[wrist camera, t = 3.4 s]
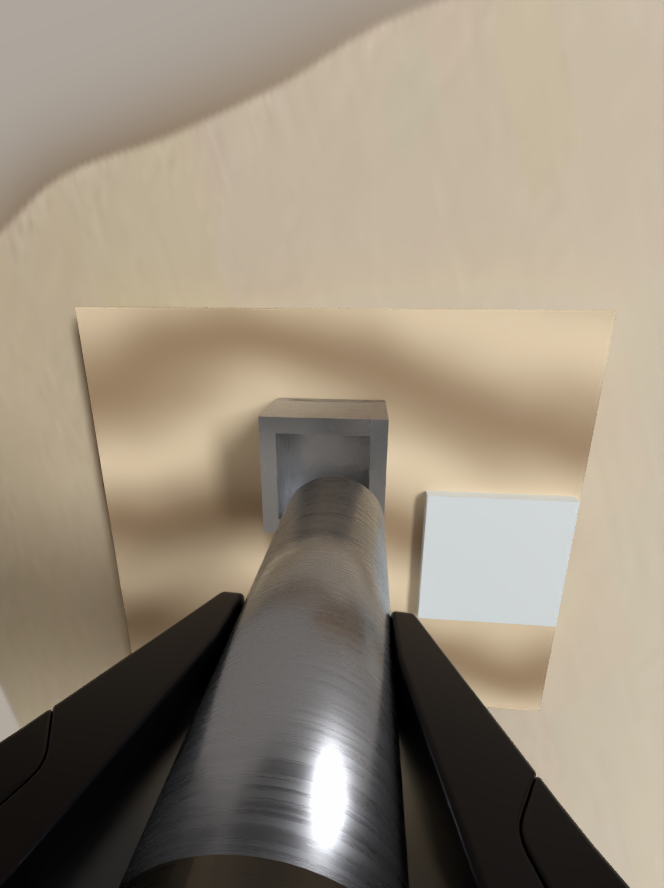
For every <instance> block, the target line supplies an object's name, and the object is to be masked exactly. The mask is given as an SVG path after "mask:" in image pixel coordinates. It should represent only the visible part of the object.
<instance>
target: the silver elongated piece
mask: <svg viewBox="0 0 664 888" xmlns="http://www.w3.org/2000/svg"><path fill="white" fill-rule="evenodd" d="M258 422H259V443H260V465H261V487H262V509H263V531H264V532H265V533H275V532H276V529H277V527H278V525H279V523H280V520H281V518H282V516H283V514H284V511H285V509H286V507H287V505H288V502H289V500H290V499H291V497H292V495H293V494H294V493H295V492H296V491H297V490H298V489H299V488H300V487H301V486H302V485H304V484H305V483H307V482H309V481H311V480H313V479H316V478H320V477H324V476H340V477H345V478H349V479H352V480H354V481H357V482H358V483H360V484H362V485H363V486H365V487H366V488H367V489H369V490H370V491H371V492H372V493H373V495H374V496H375V497H376V498H377V500H378V502H379V504H380V506H381V508H382V511H383V515H384V511H385V490H386V468H387V447H388V425H389V419H388V413H387V407H386V401H385V400H350V399H306V398H278V399H277V400H276V401H275V402H274V403H272V404H271V405H270V406H269V407H268V408H267V409H266V410H265V411H264V412H263V413H262V414H260V415H259V416H258ZM390 612H391V614H392V611H391V610H390Z"/></svg>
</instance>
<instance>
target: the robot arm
mask: <svg viewBox="0 0 664 888" xmlns="http://www.w3.org/2000/svg"><path fill="white" fill-rule="evenodd" d="M244 602H245V599H244V596H243V594H241V593H235V592H226V591H224V592H221V593H219V594H218V595H216V596H215V597H213V598H212V599H211V600H209V601H208V602H206V603H205V604H203V605H202V606H200V607H199V608H197V609H196V610H194V611H193V612H191V613H190V614H189V615H187V616H186V617H184V618H183V619H181V620H180V621H178V622H177V623H175V624H174V625H172V626H171V627H170V628H168V629H167V630H165V631H164V632H162V633H161V634H159V635H158V636H156V637H155V638H153V639H152V640H150V641H149V642H148V643H146V644H145V645H143V646H142V647H140V648H139V649H137V650H136V651H134V652H133V653H131V654H130V655H129V656H127V657H126V658H124V659H123V660H121V661H120V662H118V663H117V664H115V665H114V666H112V667H111V668H110V669H108V670H107V671H105V672H104V673H102V674H101V675H99V676H98V677H96V678H95V679H93V680H92V681H90V682H89V683H88V684H86V685H85V686H83V687H82V688H80V689H79V690H77V691H76V692H74V693H73V694H71V695H70V696H69V697H67V698H66V699H64V700H63V701H61V702H60V703H58V704H57V705H55V706H54V708H53V712H52V711H51V710H48V711H46V712H45V713H43V714H42V715H40V716H39V717H37V718H36V719H35V720H33V721H32V722H30V723H29V724H27V725H26V726H24V727H23V728H21V729H20V730H18V731H17V732H16V733H14V734H12V735H11V736H9V737H8V738H6V739H5V740H3V741H2V742H0V888H119V885H120V883H121V881H122V879H123V876H124V874H125V872H126V870H127V867H128V865H129V863H130V860H131V858H132V856H133V854H134V851H135V849H136V847H137V845H138V842H139V840H140V838H141V836H142V833H143V831H144V829H145V826H146V824H147V822H148V820H149V817H150V815H151V813H152V811H153V808H154V806H155V804H156V802H157V799H158V797H159V795H160V792H161V790H162V788H163V786H164V783H165V781H166V779H167V777H168V774H169V772H170V770H171V768H172V765H173V763H174V761H175V758H176V756H177V754H178V752H179V749H180V747H181V745H182V743H183V740H184V738H185V736H186V734H187V731H188V729H189V727H190V724H191V722H192V720H193V718H194V715H195V713H196V711H197V709H198V706H199V704H200V702H201V700H202V697H203V695H204V693H205V690H206V688H207V686H208V684H209V681H210V679H211V677H212V675H213V672H214V670H215V668H216V666H217V663H218V661H219V659H220V656H221V654H222V652H223V650H224V647H225V645H226V643H227V641H228V638H229V636H230V634H231V632H232V629H233V627H234V625H235V622H236V620H237V618H238V616H239V613H240V611H241V609H242V607H243V604H244ZM391 630H392V645H393V660H394V674H395V687H396V700H397V714H398V729H399V743H400V758H401V772H402V787H403V802H404V816H405V831H406V845H407V860H408V875H409V888H630V887H629V886H628V885H627V884H626V883H625V881H624V880H623V879H622V878H621V877H620V876H619V874H618V873H617V872H616V871H615V870H614V869H613V867H612V866H611V865H610V864H609V863H608V862H607V860H606V859H605V858H604V857H603V856H602V855H601V854H600V852H599V851H598V850H597V849H596V848H595V847H594V845H593V844H592V843H591V842H590V840H589V839H588V838H587V837H586V835H585V834H584V833H583V832H582V830H581V829H580V828H579V827H578V825H577V824H576V823H575V822H574V820H573V819H572V818H571V817H570V815H569V814H568V813H567V812H566V810H565V809H564V808H563V807H562V805H561V804H560V803H559V802H558V800H557V799H556V798H555V796H554V795H553V794H552V793H551V791H550V790H549V789H548V787H547V786H546V785H545V783H544V782H543V781H542V779H541V778H539V777H536V772H535V771H534V769H533V768H532V767H531V765H530V764H529V763H528V762H527V760H526V759H525V758H524V756H523V755H522V754H521V752H520V751H519V750H518V749H517V747H516V746H515V745H514V743H513V742H512V741H511V739H510V738H509V737H508V736H507V734H506V733H505V732H504V730H503V729H502V728H501V726H500V725H499V724H498V722H497V721H496V720H495V719H494V717H493V716H492V715H491V713H490V712H489V711H488V709H487V708H486V707H485V706H484V704H483V703H482V702H481V700H480V699H479V698H478V696H477V695H476V694H475V693H474V691H473V690H472V689H471V687H470V686H469V685H468V683H467V682H466V681H465V680H464V678H463V677H462V676H461V674H460V673H459V672H458V670H457V669H456V668H455V666H454V665H453V664H452V663H451V661H450V660H449V659H448V657H447V656H446V655H445V653H444V652H443V651H442V650H441V648H440V647H439V646H438V644H437V643H436V642H435V640H434V639H433V638H432V637H431V635H430V634H429V633H428V631H427V630H426V629H425V627H424V626H423V625H422V623H421V622H420V621H419V620H418V618H417V617H416V616H415V615H414V614H413V613H408V612H399V611H394V612H392V614H391ZM535 777H536V778H535Z"/></svg>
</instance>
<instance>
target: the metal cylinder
mask: <svg viewBox="0 0 664 888" xmlns="http://www.w3.org/2000/svg"><path fill="white" fill-rule="evenodd" d="M119 888H409V875H408V860H407V845H406V831H405V816H404V802H403V787H402V772H401V758H400V743H399V729H398V714H397V700H396V687H395V674H394V660H393V645H392V630H391V612H390V597H389V583H388V568H387V553H386V539H385V524H384V515H383V511H382V508H381V506H380V504H379V502H378V500H377V498H376V497H375V496H374V495H373V493H372V492H371V491H370V490H369V489H367V488H366V487H365V486H363V485H362V484H360V483H358V482H357V481H354V480H352V479H349V478H345V477H340V476H324V477H320V478H316V479H313V480H311V481H309V482H307V483H305V484H304V485H302V486H301V487H300V488H299V489H298V490H297V491H296V492H295V493H294V494H293V495H292V497H291V499H290V500H289V502H288V505H287V507H286V509H285V511H284V514H283V516H282V518H281V520H280V523H279V525H278V527H277V529H276V532H275V534H274V536H273V539H272V541H271V543H270V545H269V548H268V550H267V552H266V554H265V557H264V559H263V561H262V563H261V566H260V568H259V570H258V573H257V575H256V577H255V579H254V582H253V584H252V586H251V588H250V591H249V593H248V595H247V598H246V600H245V602H244V604H243V607H242V609H241V611H240V613H239V616H238V618H237V620H236V622H235V625H234V627H233V629H232V632H231V634H230V636H229V638H228V641H227V643H226V645H225V647H224V650H223V652H222V654H221V656H220V659H219V661H218V663H217V666H216V668H215V670H214V672H213V675H212V677H211V679H210V681H209V684H208V686H207V688H206V690H205V693H204V695H203V697H202V700H201V702H200V704H199V706H198V709H197V711H196V713H195V715H194V718H193V720H192V722H191V724H190V727H189V729H188V731H187V734H186V736H185V738H184V740H183V743H182V745H181V747H180V749H179V752H178V754H177V756H176V758H175V761H174V763H173V765H172V768H171V770H170V772H169V774H168V777H167V779H166V781H165V783H164V786H163V788H162V790H161V792H160V795H159V797H158V799H157V802H156V804H155V806H154V808H153V811H152V813H151V815H150V817H149V820H148V822H147V824H146V826H145V829H144V831H143V833H142V836H141V838H140V840H139V842H138V845H137V847H136V849H135V851H134V854H133V856H132V858H131V860H130V863H129V865H128V867H127V870H126V872H125V874H124V876H123V879H122V881H121V883H120V885H119Z"/></svg>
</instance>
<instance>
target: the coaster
mask: <svg viewBox="0 0 664 888" xmlns="http://www.w3.org/2000/svg"><path fill="white" fill-rule="evenodd" d="M579 505H580V502H579V501H578V500H577V499H576V498H575V497H574V496H555V495H530V494H504V493H479V492H453V491H428V490H426V496H425V509H424V522H423V535H422V548H421V561H420V574H419V587H418V600H417V614H418V618H427V619H443V620H459V621H475V622H491V623H506V624H522V625H538V626H554V627H556V623H557V618H558V613H559V608H560V603H561V597H562V592H563V587H564V582H565V577H566V572H567V566H568V561H569V556H570V551H571V546H572V541H573V536H574V530H575V525H576V520H577V515H578V510H579Z"/></svg>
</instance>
